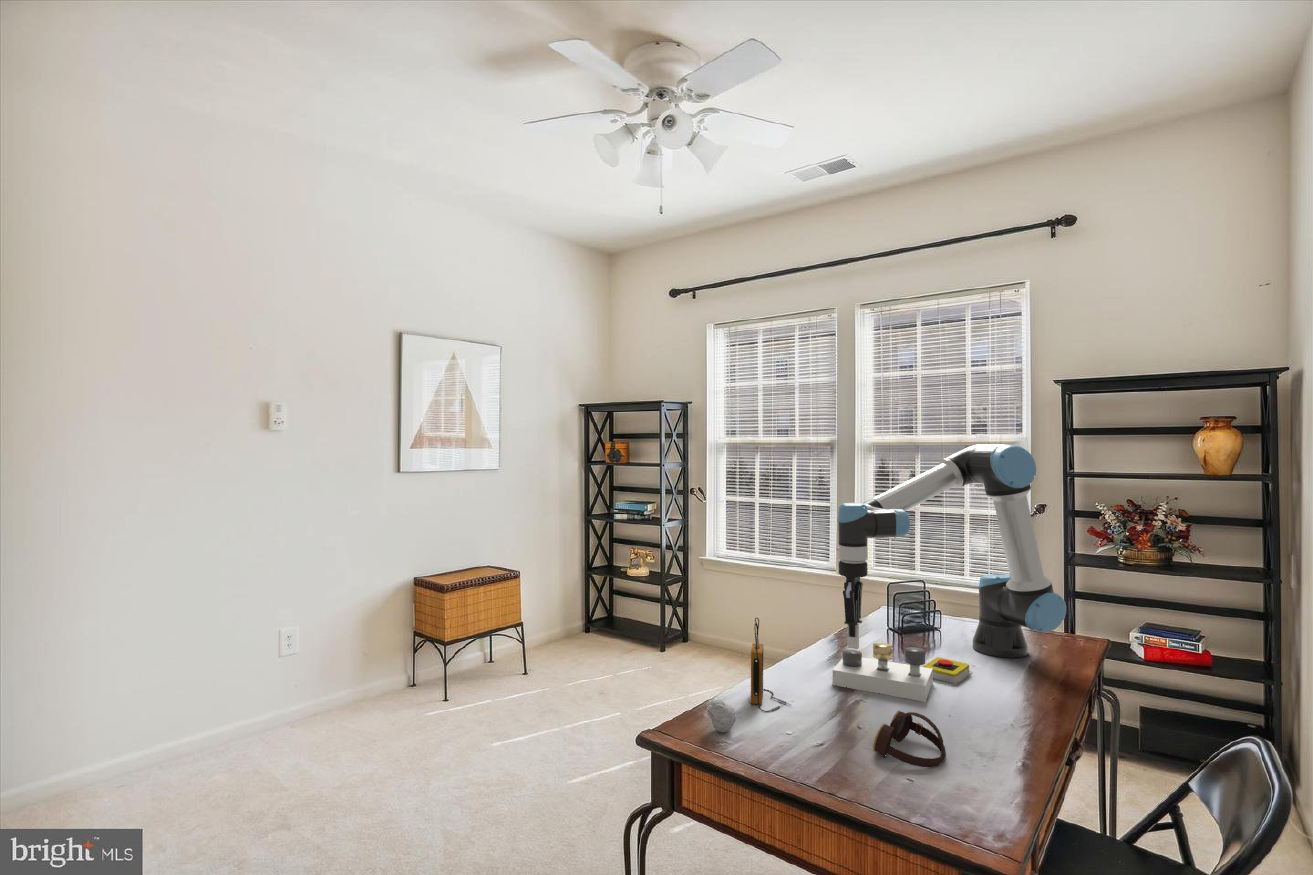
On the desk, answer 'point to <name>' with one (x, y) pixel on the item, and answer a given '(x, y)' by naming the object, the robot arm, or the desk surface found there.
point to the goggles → (898, 732)
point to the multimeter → (758, 673)
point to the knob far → (852, 658)
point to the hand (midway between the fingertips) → (853, 647)
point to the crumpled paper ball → (721, 715)
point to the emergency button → (948, 671)
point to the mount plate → (884, 679)
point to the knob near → (914, 659)
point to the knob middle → (883, 655)
